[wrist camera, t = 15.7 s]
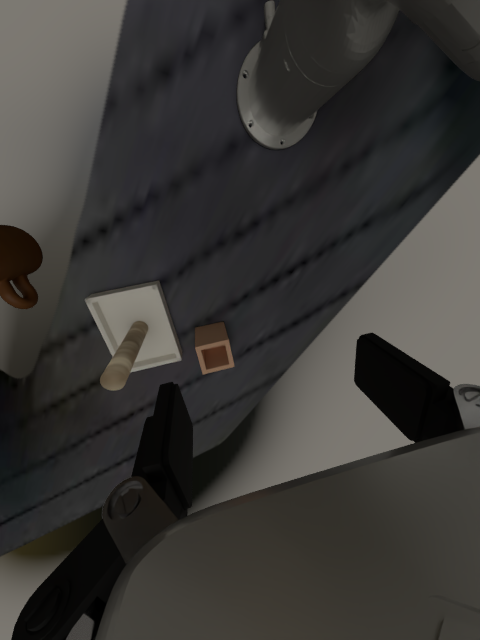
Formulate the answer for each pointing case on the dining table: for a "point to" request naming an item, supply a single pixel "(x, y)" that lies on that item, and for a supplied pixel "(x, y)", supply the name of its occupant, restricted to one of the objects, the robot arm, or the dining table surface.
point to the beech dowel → (124, 357)
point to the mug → (18, 266)
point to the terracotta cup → (213, 347)
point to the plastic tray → (137, 305)
